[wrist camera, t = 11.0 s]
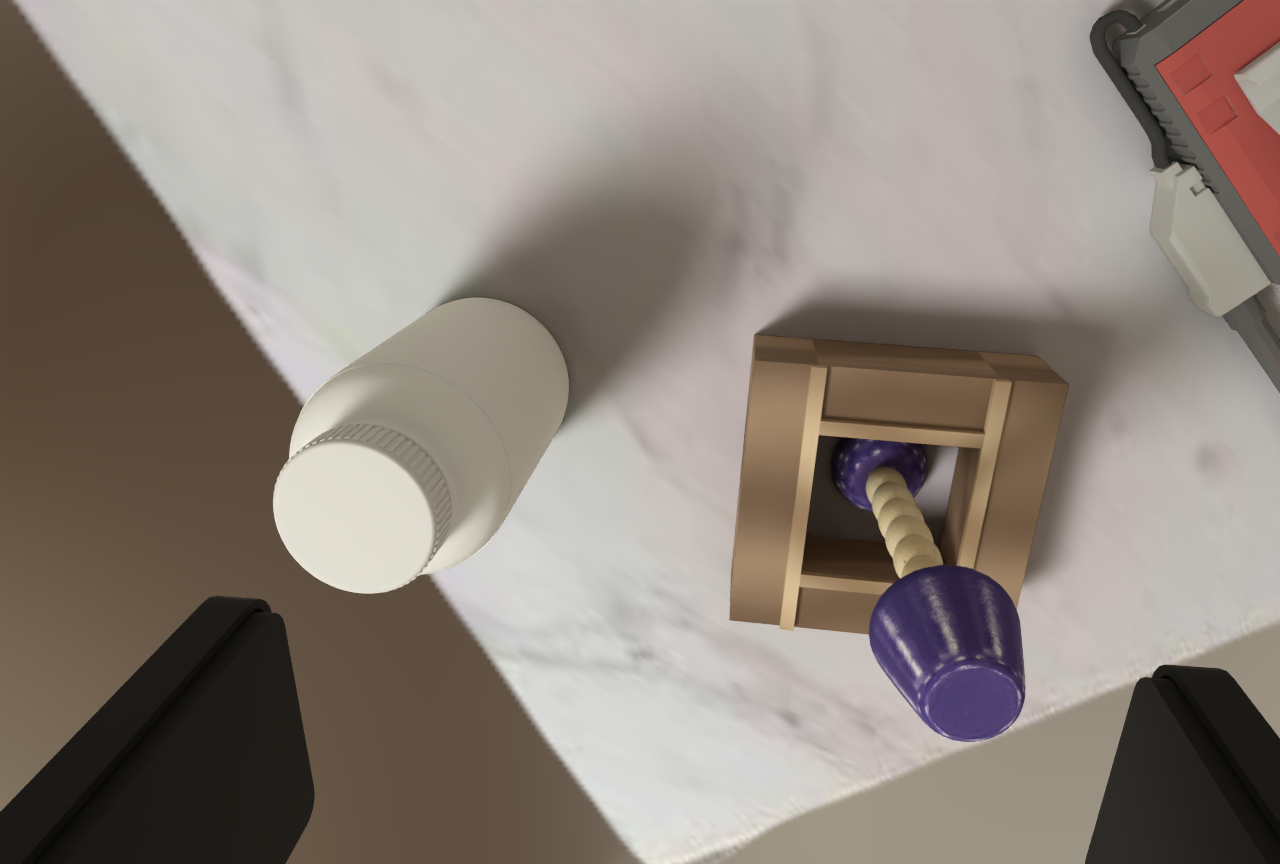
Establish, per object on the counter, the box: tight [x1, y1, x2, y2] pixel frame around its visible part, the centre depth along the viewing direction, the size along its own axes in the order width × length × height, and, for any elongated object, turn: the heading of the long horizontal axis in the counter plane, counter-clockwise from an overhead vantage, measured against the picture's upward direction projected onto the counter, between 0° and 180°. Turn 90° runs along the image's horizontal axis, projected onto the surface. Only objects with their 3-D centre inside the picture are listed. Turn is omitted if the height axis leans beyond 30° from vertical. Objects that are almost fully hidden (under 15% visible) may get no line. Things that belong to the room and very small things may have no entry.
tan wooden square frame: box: [730, 335, 1069, 634], centre depth 39 cm, size 12×12×4 cm
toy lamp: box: [831, 437, 1025, 742], centre depth 33 cm, size 5×5×17 cm
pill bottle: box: [273, 298, 569, 593], centre depth 34 cm, size 8×8×15 cm
